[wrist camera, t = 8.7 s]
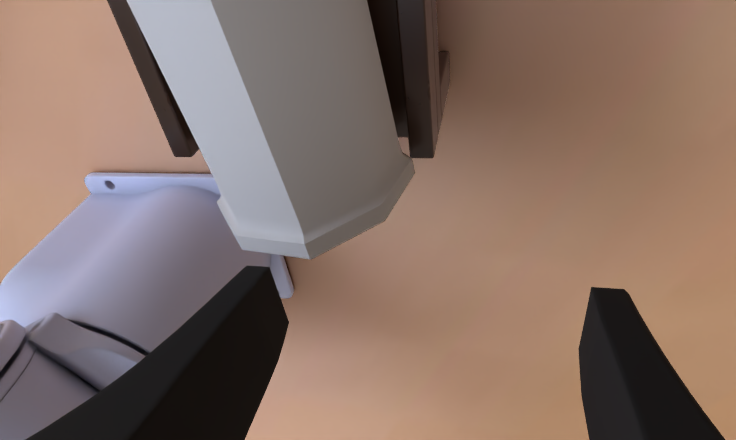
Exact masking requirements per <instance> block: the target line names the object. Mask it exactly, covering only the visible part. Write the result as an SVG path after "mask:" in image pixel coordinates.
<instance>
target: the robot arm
mask: <svg viewBox="0 0 736 440" xmlns="http://www.w3.org/2000/svg"><path fill="white" fill-rule="evenodd" d="M84 181H85V184H86V186H87V188H88V189H89V191H90V193H91V194H90V195H89V196H88V197H87V198H86V199H85V200H84V201H83V202H82V203H81V204H80V205H79V206H78V207H77V208H75V209H74V210H73V211H72V212H71V213H70V214H69V215H68V216H67V217H66V218H65V219H64V220H63V221H62V222H61V223H60V224H58V225H57V226H56V227H55V228H54V229H53V230H52V231H51V232H50V233H49V234H48V235H47V236H46V237H45V238H44V239H43V240H41V241H40V242H39V243H38V244H37V245H36V246H35V247H34V248H33V249H32V250H31V251H30V252H29V253H28V254H27V255H26V256H24V257H23V258H22V259H21V260H20V261H19V262H18V263H17V264H16V265H15V266H14V267H13V268H12V269H11V270H10V272H9V273H8V274H7V275H6V277H5V278H4V279H3V281H2V283H1V284H0V440H245V437H246V435H247V433H248V430H249V428H250V426H251V423H252V421H253V419H254V416H255V414H256V412H257V410H258V407H259V405H260V403H261V400H262V398H263V396H264V393H265V391H266V389H267V386H268V384H269V382H270V379H271V377H272V374H273V372H274V370H275V367H276V365H277V362H278V359H279V356H280V353H281V349H282V346H283V343H284V339H285V335H286V331H287V328H288V324H289V321H288V318H287V315H286V313H285V310H284V307H283V304H282V301H281V298H290V297H291V296H292V295H293V292H294V287H293V284H292V281H291V278H290V275H289V272H288V269H287V266H286V262H285V259H284V256H282V255H275V254H268V253H261V252H254V251H247V250H242V249H241V247H240V245H239V243H238V242H237V240H236V238H235V236H234V234H233V233H232V231H231V229H230V227H229V225H228V224H227V222H226V220H225V218H224V216H223V215H222V212H221V210H220V208H219V206H218V204H217V201H218V200H219V198H220V197H221V194H220V191H219V188H218V186H217V183H216V181H215V179H214V177H213V175H212V174H178V173H104V172H92V173H89V174H88V175H87V176H86V177H85V178H84ZM579 363H580V379H581V393H582V400H583V406H584V412H585V417H586V423H587V429H588V434H589V440H725V439H724V437H723V436H722V435H721V434H720V432H719V431H718V430H717V428H716V427H715V426H714V424H713V423H712V422H711V420H710V419H709V418H708V416H707V415H706V414H705V412H704V411H703V410H702V408H701V407H700V406H699V404H698V403H697V401H696V400H695V399H694V397H693V396H692V395H691V393H690V392H689V390H688V389H687V387H686V386H685V384H684V383H683V381H682V380H681V379H680V377H679V376H678V374H677V373H676V371H675V370H674V368H673V367H672V365H671V364H670V362H669V361H668V359H667V358H666V356H665V355H664V353H663V352H662V350H661V348H660V347H659V345H658V344H657V342H656V340H655V339H654V337H653V336H652V334H651V332H650V331H649V329H648V327H647V326H646V324H645V322H644V321H643V319H642V317H641V315H640V314H639V312H638V310H637V308H636V306H635V305H634V303H633V301H632V299H631V297H630V295H629V294H628V293H627V292H626V291H625V290H624V289H611V288H596V287H591V292H590V297H589V302H588V307H587V311H586V316H585V321H584V326H583V331H582V336H581V340H580V345H579Z"/></svg>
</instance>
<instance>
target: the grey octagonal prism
mask: <svg viewBox="0 0 736 440" xmlns="http://www.w3.org/2000/svg"><path fill="white" fill-rule="evenodd" d="M127 2H128V4H129V6H130V8H131V10H132V12H133V14H134V16H135V19H136V21H137V23H138V25H139V27H140V29H141V31H142V33H143V35H144V37H145V39H146V41H147V43H148V45H149V47H150V49H151V51H152V53H153V55H154V57H155V59H156V61H157V63H158V65H159V67H160V69H161V71H162V74H163V76H164V78H165V80H166V82H167V84H168V86H169V88H170V90H171V92H172V94H173V96H174V98H175V100H176V102H177V104H178V106H179V108H180V110H181V112H182V114H183V116H184V118H185V120H186V122H187V124H188V126H189V128H190V131H191V133H192V135H193V137H194V139H195V141H196V143H197V145H198V147H199V149H200V151H201V153H202V155H203V157H204V159H205V161H206V163H207V165H208V167H209V169H210V171H211V173H212V175H213V177H214V179H215V181H216V183H217V186H218V188H219V191H220V194H221V197H220V198H219V200H218V201H217V204H218V206H219V208H220V210H221V212H222V215H223V216H224V218H225V220H226V222H227V224H228V225H229V227H230V229H231V231H232V233H233V234H234V236H235V238H236V240H237V242H238V243H239V245H240V247H241V249H242V250H247V251H254V252H261V253H268V254H275V255H282V256H289V257H297V258H304V259H313V258H315V257H317V256H319V255H321V254H323V253H325V252H327V251H329V250H331V249H332V248H334V247H336V246H338V245H340V244H342V243H344V242H346V241H348V240H350V239H351V238H353V237H355V236H357V235H359V234H361V233H363V232H365V231H367V230H369V229H371V228H372V227H374V226H376V225H378V224H380V223H382V222H384V221H385V220H386V218H387V217H388V215H389V214H390V212H391V210H392V209H393V207H394V206H395V204H396V202H397V201H398V199H399V198H400V196H401V194H402V193H403V191H404V190H405V188H406V186H407V185H408V183H409V182H410V180H411V178H412V177H413V175H414V174H415V170H414V165H413V161H412V158H410V157H409V156H407V155H406V154H404V153H403V152H402V150H401V148H400V145H399V141H398V136H397V132H396V127H395V123H394V118H393V114H392V110H391V105H390V101H389V96H388V92H387V87H386V83H385V78H384V74H383V70H382V65H381V61H380V56H379V52H378V47H377V43H376V38H375V34H374V30H373V25H372V21H371V16H370V12H369V7H368V3H367V0H127Z"/></svg>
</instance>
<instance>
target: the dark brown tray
mask: <svg viewBox="0 0 736 440" xmlns="http://www.w3.org/2000/svg"><path fill="white" fill-rule="evenodd" d="M107 1H108V3H109V6H110V8H111V10H112V13H113V15H114V17H115V19H116V22H117V24H118V26H119V29H120V31H121V33H122V36H123V38H124V40H125V43H126V45H127V47H128V50H129V52H130V54H131V57H132V59H133V61H134V64H135V66H136V68H137V71H138V73H139V75H140V78H141V80H142V82H143V84H144V87H145V89H146V91H147V94H148V96H149V98H150V101H151V103H152V105H153V108H154V110H155V112H156V115H157V117H158V119H159V122H160V124H161V126H162V129H163V131H164V133H165V136H166V138H167V140H168V143H169V145H170V147H171V149H172V152H173V154H174V156H175V157H192V156H193V155H194V154H195V153H196V152H197V151H198V150H199V147H198V145H197V143H196V141H195V139H194V137H193V135H192V133H191V131H190V128H189V126H188V124H187V122H186V120H185V118H184V116H183V114H182V112H181V110H180V108H179V106H178V104H177V102H176V100H175V98H174V96H173V94H172V92H171V90H170V88H169V86H168V84H167V82H166V80H165V78H164V76H163V74H162V71H161V69H160V67H159V65H158V63H157V61H156V59H155V57H154V55H153V53H152V51H151V49H150V47H149V45H148V43H147V41H146V39H145V37H144V35H143V33H142V31H141V29H140V27H139V25H138V23H137V21H136V19H135V16H134V14H133V12H132V10H131V8H130V6H129V4H128V2H127V0H107ZM367 3H368V7H369V12H370V16H371V21H372V25H373V30H374V34H375V38H376V43H377V47H378V52H379V56H380V61H381V65H382V70H383V74H384V78H385V83H386V87H387V92H388V96H389V101H390V105H391V110H392V114H393V118H394V123H395V127H396V132H397V136H398V137H408V139H409V150H410V157H411V158H433V157H434V154H435V149H436V145H437V140H438V134H439V130H440V125H441V120H442V117H443V112H444V107H445V103H446V98H447V94H448V89H449V85H450V59H449V52H448V51H443V52H438V34H437V12H436V0H367Z"/></svg>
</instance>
